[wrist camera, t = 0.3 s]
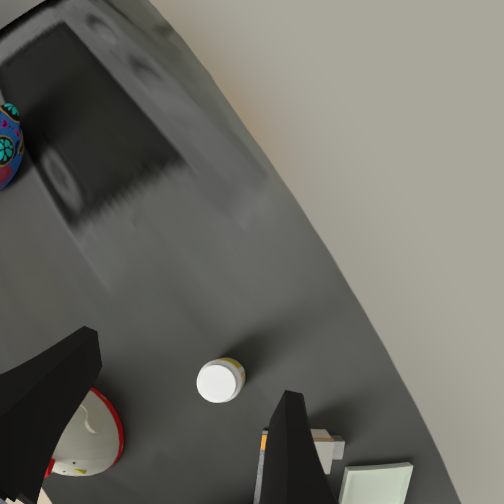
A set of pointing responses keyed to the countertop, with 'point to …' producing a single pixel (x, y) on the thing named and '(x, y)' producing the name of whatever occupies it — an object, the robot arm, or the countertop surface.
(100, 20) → the countertop surface
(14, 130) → the ceramic pot
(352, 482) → the tray
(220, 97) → the countertop surface
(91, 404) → the kitchen timer
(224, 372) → the supplement bottle
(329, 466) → the white box with band
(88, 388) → the robot arm
